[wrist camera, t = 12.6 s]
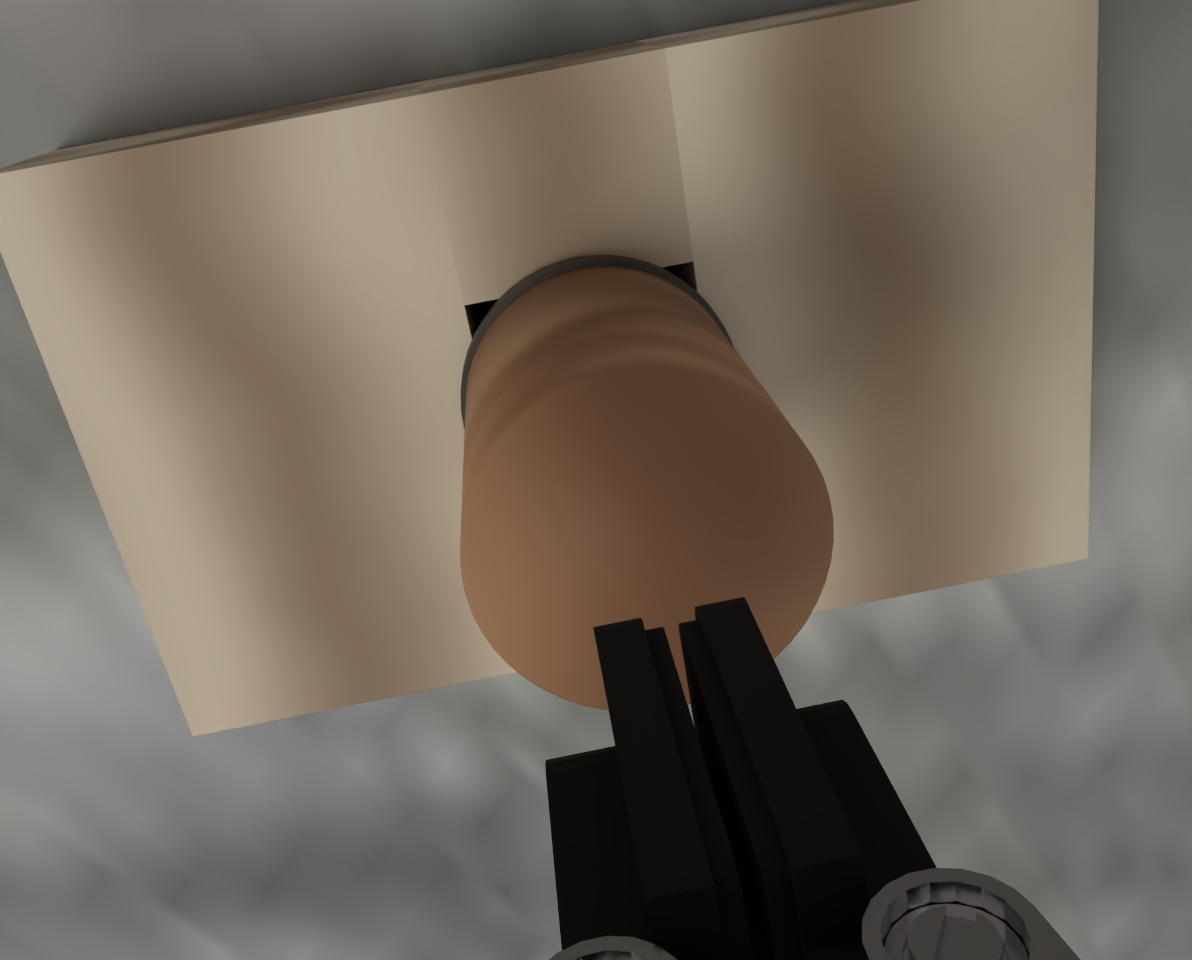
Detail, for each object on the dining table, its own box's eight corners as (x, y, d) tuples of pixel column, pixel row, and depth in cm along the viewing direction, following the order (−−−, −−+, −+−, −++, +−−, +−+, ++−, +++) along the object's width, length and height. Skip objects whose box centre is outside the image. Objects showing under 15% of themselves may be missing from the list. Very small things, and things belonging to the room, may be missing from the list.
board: (1000, -28, 23) (1098, -34, 19) (1008, 485, 28) (1088, 558, 24) (53, 150, 22) (-29, 178, 19) (231, 638, 27) (192, 736, 24)
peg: (681, 194, 24) (824, 332, 14) (711, 420, 26) (854, 677, 16) (440, 240, 24) (411, 411, 14) (490, 463, 26) (497, 748, 16)
